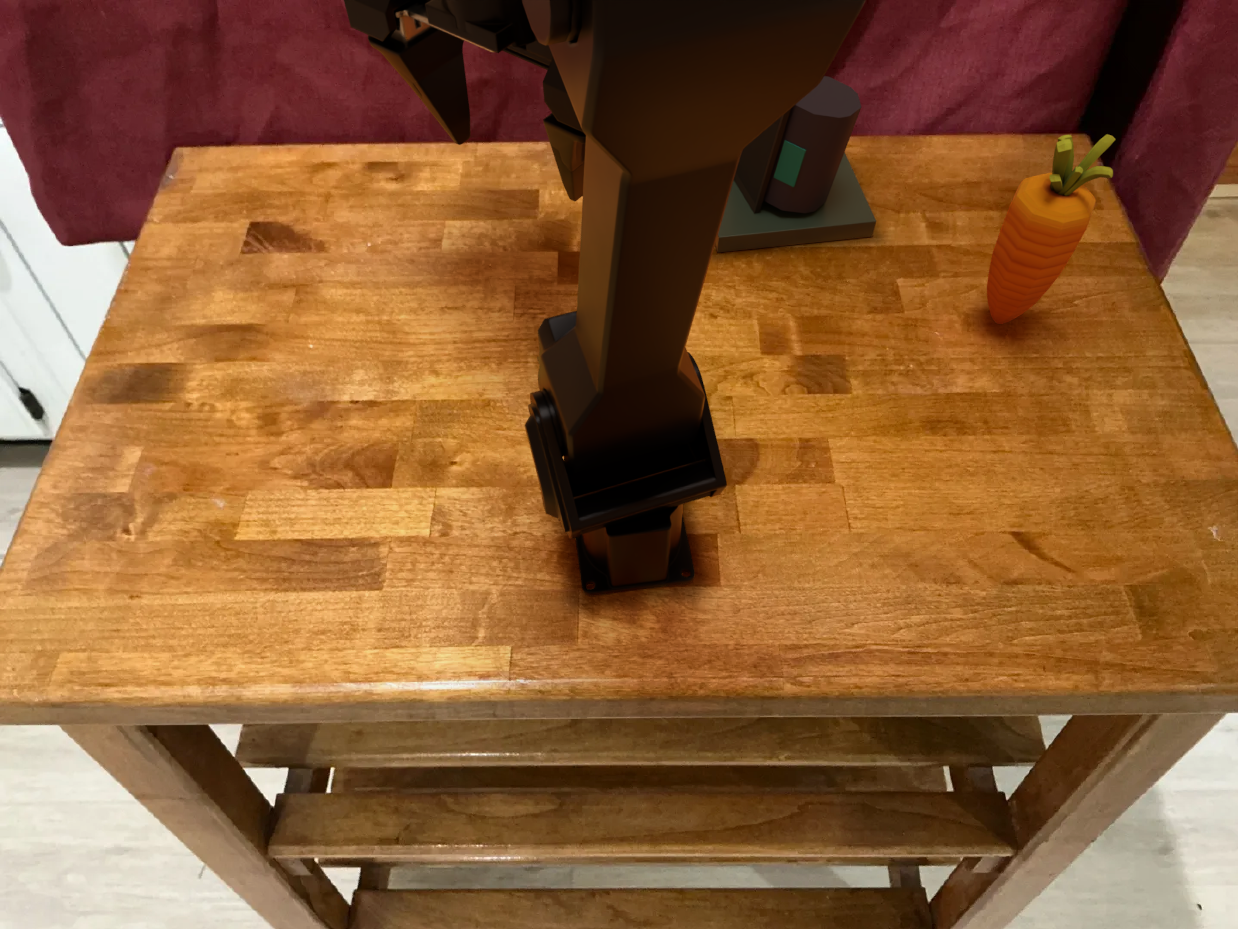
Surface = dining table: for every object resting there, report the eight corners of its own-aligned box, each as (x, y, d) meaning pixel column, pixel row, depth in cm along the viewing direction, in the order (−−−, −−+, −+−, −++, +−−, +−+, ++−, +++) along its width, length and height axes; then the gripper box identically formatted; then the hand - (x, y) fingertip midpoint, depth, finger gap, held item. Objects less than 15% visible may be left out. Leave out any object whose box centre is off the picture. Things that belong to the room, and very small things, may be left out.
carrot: (1028, 299, 65) (1121, 111, 52) (1040, 350, 62) (1141, 164, 50) (957, 295, 65) (1033, 106, 53) (966, 346, 62) (1048, 159, 50)
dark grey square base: (872, 236, 69) (881, 204, 66) (717, 252, 68) (720, 220, 66) (836, 156, 75) (843, 124, 72) (692, 170, 74) (695, 138, 71)
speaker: (730, 216, 68) (759, 85, 60) (729, 171, 71) (756, 42, 63) (830, 227, 68) (873, 99, 60) (824, 182, 72) (863, 55, 63)
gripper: (746, -127, 43) (720, 157, 55) (456, -213, 49) (492, 58, 62) (601, -30, 37) (609, 258, 50) (299, -142, 44) (374, 138, 57)
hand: (518, 167), depth 55 cm, fingers open, 9 cm apart
